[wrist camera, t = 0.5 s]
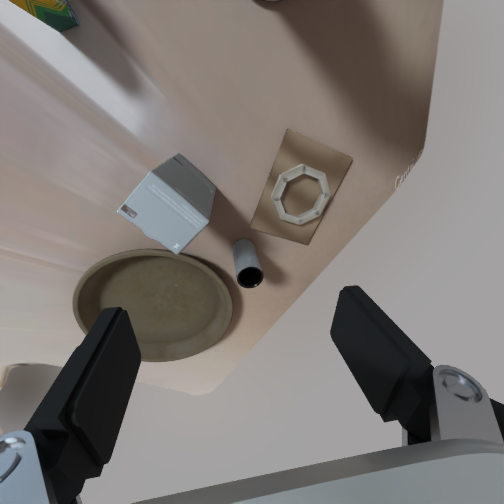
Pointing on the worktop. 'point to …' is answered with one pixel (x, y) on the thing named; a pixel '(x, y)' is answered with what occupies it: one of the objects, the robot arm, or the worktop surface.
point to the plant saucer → (158, 301)
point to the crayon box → (50, 12)
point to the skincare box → (171, 203)
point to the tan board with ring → (299, 188)
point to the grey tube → (247, 264)
